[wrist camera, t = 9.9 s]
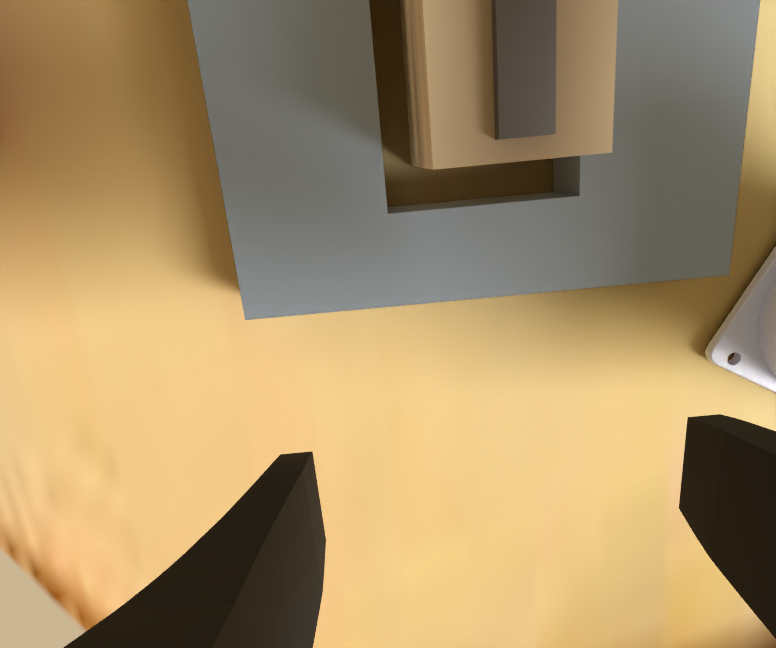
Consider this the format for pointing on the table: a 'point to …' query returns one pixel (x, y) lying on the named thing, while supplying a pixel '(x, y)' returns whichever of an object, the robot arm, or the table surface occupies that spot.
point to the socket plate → (473, 216)
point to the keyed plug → (508, 79)
